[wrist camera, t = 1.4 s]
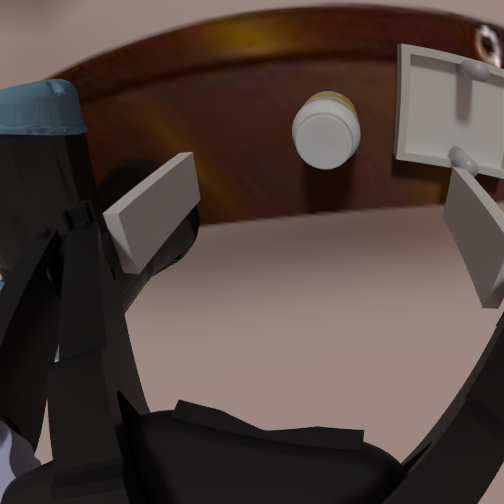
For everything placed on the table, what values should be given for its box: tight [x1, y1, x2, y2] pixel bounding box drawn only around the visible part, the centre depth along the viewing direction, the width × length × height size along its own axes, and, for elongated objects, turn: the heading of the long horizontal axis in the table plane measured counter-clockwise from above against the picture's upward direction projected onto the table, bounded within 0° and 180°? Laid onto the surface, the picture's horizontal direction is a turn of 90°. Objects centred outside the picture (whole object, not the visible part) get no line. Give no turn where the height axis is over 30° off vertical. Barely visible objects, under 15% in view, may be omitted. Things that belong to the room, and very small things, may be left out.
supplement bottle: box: [292, 91, 360, 169], centre depth 24 cm, size 5×5×10 cm
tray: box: [393, 44, 504, 179], centre depth 20 cm, size 13×11×5 cm
